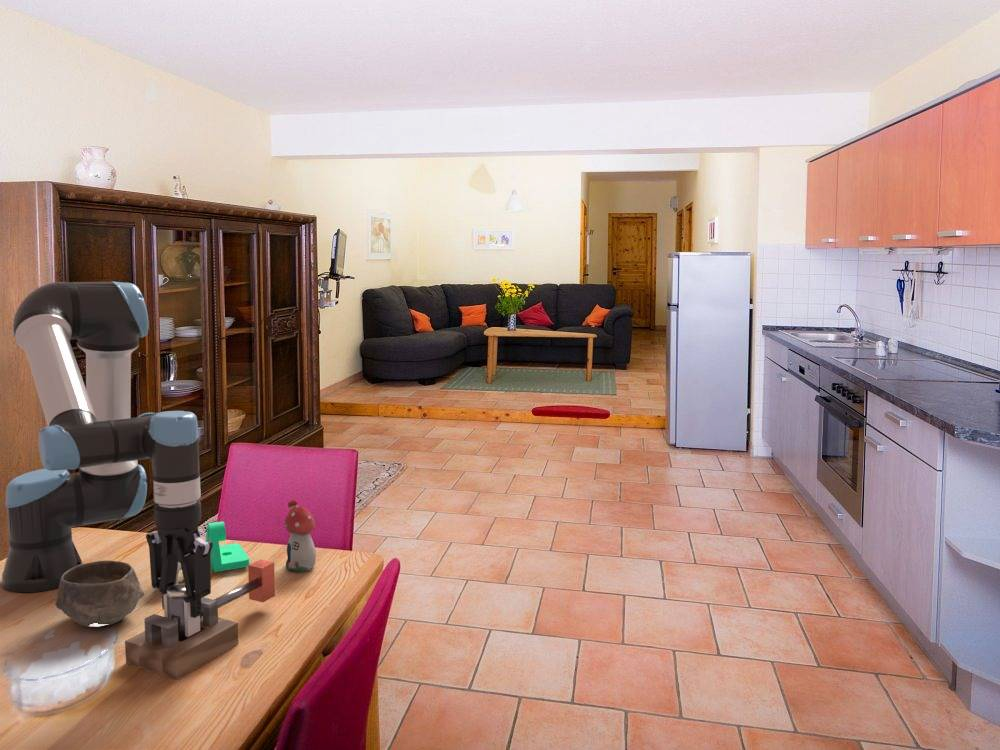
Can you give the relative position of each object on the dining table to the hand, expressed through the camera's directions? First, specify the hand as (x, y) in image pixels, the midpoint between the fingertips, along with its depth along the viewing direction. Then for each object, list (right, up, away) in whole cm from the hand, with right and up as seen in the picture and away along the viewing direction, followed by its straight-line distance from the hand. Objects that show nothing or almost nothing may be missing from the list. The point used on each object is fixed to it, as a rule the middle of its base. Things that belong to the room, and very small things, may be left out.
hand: (182, 630), depth 138 cm
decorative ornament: (+10, +1, +41) cm, 42 cm away
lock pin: (+5, 0, +12) cm, 13 cm away
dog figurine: (-14, 0, +31) cm, 34 cm away
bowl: (-21, -3, +13) cm, 24 cm away
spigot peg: (0, -4, +1) cm, 4 cm away
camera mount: (-7, +1, +42) cm, 42 cm away
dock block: (0, -4, +1) cm, 4 cm away
